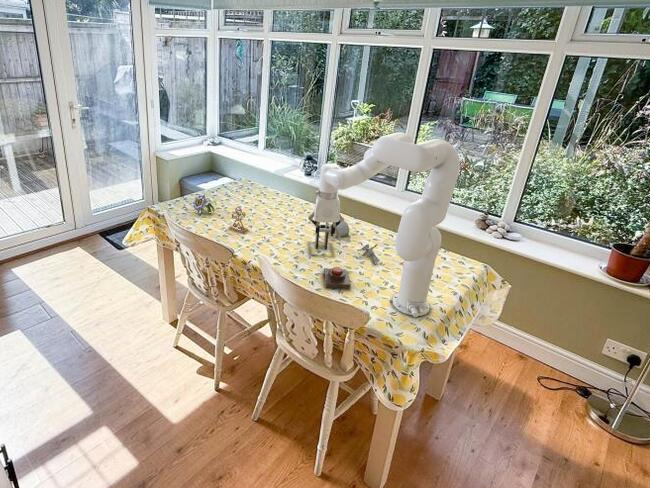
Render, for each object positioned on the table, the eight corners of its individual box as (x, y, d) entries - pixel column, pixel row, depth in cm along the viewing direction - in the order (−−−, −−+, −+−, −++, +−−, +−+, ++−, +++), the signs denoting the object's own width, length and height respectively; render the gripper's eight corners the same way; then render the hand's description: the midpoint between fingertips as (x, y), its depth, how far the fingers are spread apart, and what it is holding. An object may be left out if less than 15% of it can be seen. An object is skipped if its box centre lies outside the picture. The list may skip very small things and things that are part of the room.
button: (342, 275, 159) (342, 271, 158) (332, 275, 159) (333, 271, 158) (341, 270, 162) (341, 266, 161) (331, 270, 162) (332, 266, 162)
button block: (349, 289, 156) (350, 280, 155) (325, 288, 157) (326, 279, 156) (345, 273, 167) (346, 265, 165) (323, 272, 167) (324, 264, 166)
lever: (331, 233, 170) (331, 228, 170) (319, 233, 170) (319, 227, 170) (327, 230, 182) (328, 224, 182) (316, 229, 182) (316, 224, 182)
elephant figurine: (365, 267, 172) (353, 251, 178) (369, 271, 176) (357, 256, 182) (385, 252, 171) (372, 237, 176) (388, 257, 175) (376, 242, 181)
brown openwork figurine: (229, 228, 204) (228, 206, 199) (233, 225, 207) (233, 203, 202) (243, 233, 199) (243, 210, 194) (248, 230, 202) (248, 208, 197)
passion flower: (198, 222, 222) (185, 204, 221) (210, 212, 230) (199, 194, 228) (209, 216, 214) (196, 197, 213) (222, 206, 221) (209, 188, 220)
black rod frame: (333, 256, 179) (336, 230, 174) (310, 255, 180) (312, 229, 175) (330, 243, 190) (332, 218, 185) (308, 242, 191) (310, 217, 186)
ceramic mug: (325, 236, 197) (326, 221, 194) (337, 231, 202) (338, 217, 199) (342, 245, 190) (343, 230, 186) (353, 240, 194) (355, 225, 191)
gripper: (307, 197, 162) (304, 238, 169) (351, 198, 161) (346, 239, 168) (306, 190, 169) (303, 230, 176) (348, 191, 168) (344, 231, 175)
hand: (324, 234), depth 172 cm, fingers open, 5 cm apart
